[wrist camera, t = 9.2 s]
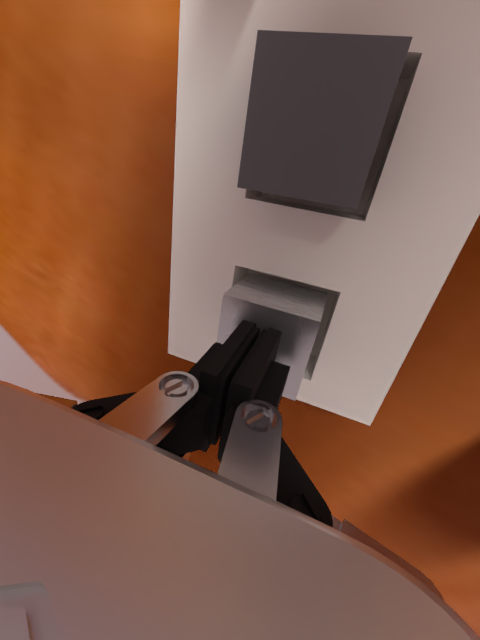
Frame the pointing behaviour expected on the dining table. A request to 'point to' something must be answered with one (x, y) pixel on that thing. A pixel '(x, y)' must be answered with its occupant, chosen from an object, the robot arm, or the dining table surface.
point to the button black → (318, 112)
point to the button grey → (276, 319)
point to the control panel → (323, 219)
